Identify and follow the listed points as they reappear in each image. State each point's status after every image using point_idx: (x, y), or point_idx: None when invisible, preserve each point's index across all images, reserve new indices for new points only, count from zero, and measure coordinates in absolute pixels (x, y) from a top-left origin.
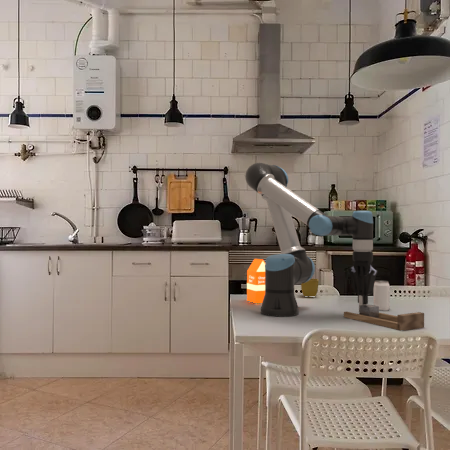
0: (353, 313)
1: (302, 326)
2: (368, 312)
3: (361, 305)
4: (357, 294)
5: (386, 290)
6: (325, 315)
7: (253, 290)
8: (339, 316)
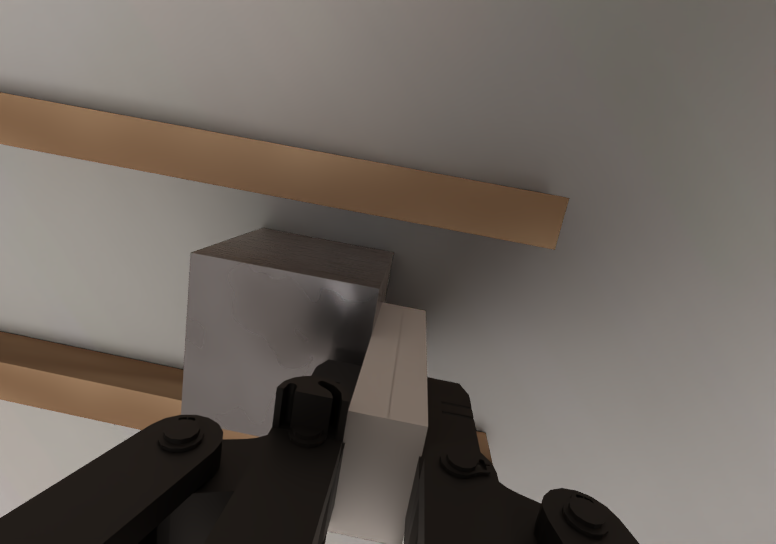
0: (423, 194)
1: None
2: (240, 243)
3: (358, 310)
4: (473, 450)
5: None
6: (768, 103)
7: None
8: (606, 188)
